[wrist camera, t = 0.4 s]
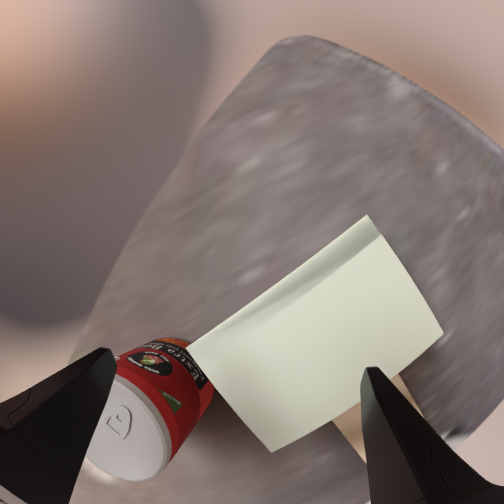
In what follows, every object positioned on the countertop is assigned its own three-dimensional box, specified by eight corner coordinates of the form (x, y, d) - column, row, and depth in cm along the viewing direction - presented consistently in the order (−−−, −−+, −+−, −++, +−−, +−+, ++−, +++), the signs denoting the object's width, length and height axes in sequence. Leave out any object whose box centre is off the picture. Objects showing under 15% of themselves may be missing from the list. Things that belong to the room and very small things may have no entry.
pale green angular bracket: (405, 317, 21) (443, 333, 14) (277, 407, 22) (271, 452, 15) (345, 231, 23) (366, 214, 16) (215, 327, 23) (185, 348, 17)
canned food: (228, 355, 23) (181, 413, 12) (203, 428, 23) (155, 501, 12) (148, 321, 24) (64, 347, 13) (131, 393, 24) (59, 441, 13)
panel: (425, 425, 21) (433, 435, 18) (370, 462, 21) (375, 474, 19) (382, 353, 22) (389, 360, 20) (319, 396, 22) (321, 406, 20)
